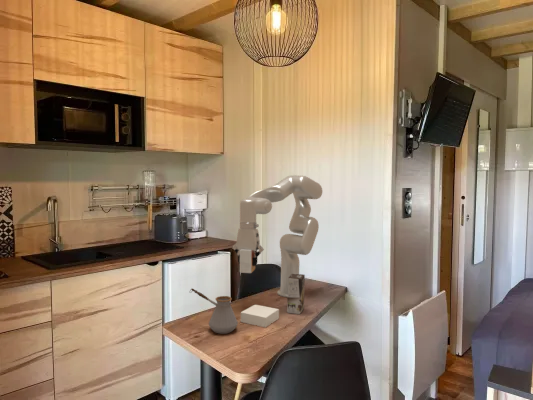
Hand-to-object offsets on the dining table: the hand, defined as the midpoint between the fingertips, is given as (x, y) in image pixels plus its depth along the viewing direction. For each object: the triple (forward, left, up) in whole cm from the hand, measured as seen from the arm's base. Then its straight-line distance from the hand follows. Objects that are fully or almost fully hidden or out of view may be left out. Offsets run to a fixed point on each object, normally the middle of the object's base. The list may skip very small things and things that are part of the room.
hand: (247, 264), depth 184 cm
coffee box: (-9, +21, -21) cm, 31 cm away
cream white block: (+10, +12, -21) cm, 26 cm away
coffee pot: (+27, -1, -21) cm, 35 cm away
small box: (0, 0, -3) cm, 3 cm away
